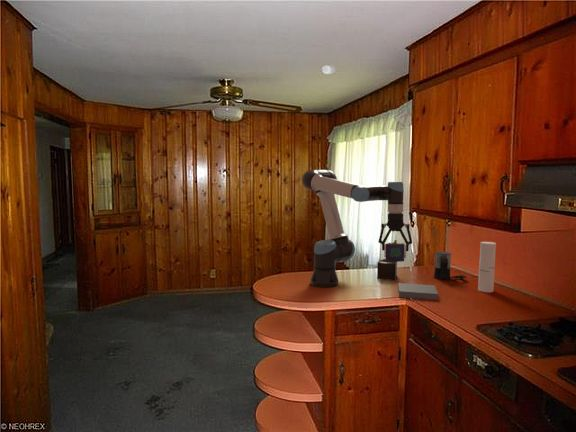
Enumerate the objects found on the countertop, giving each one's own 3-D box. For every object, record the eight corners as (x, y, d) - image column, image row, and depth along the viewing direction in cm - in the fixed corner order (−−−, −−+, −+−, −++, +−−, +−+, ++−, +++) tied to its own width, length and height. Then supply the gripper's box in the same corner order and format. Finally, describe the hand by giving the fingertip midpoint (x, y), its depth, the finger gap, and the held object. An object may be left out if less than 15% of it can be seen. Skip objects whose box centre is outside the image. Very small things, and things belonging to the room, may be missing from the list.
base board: (399, 297, 198) (399, 291, 197) (398, 288, 212) (398, 283, 212) (437, 300, 193) (438, 293, 193) (434, 291, 208) (434, 285, 208)
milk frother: (430, 275, 239) (431, 251, 237) (456, 275, 240) (457, 250, 239) (441, 282, 225) (443, 256, 223) (469, 281, 226) (470, 255, 224)
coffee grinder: (396, 280, 228) (397, 249, 226) (376, 278, 232) (377, 247, 230) (399, 274, 243) (400, 244, 241) (380, 272, 247) (381, 243, 245)
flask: (403, 260, 204) (403, 239, 204) (405, 261, 202) (405, 240, 201) (385, 260, 205) (385, 239, 204) (386, 261, 202) (386, 240, 201)
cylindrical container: (496, 292, 206) (499, 244, 204) (482, 292, 206) (485, 244, 203) (488, 288, 213) (491, 241, 211) (475, 288, 213) (477, 241, 210)
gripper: (372, 213, 200) (372, 257, 202) (418, 213, 195) (418, 259, 197) (373, 211, 208) (373, 255, 210) (418, 212, 202) (417, 256, 204)
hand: (395, 257), depth 203 cm, fingers closed on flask, 9 cm apart
